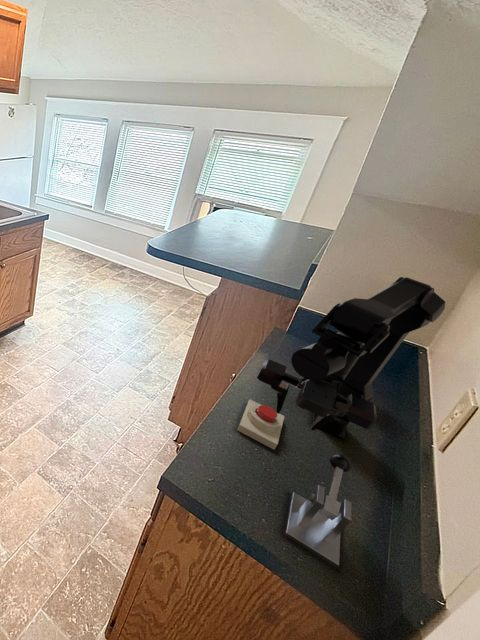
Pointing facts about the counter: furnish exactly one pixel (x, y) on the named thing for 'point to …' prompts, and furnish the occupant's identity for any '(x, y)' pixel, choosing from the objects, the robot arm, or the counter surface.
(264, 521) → the counter surface
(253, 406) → the stop block
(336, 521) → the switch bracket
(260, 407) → the stop button
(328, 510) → the switch lever
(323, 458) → the counter surface
